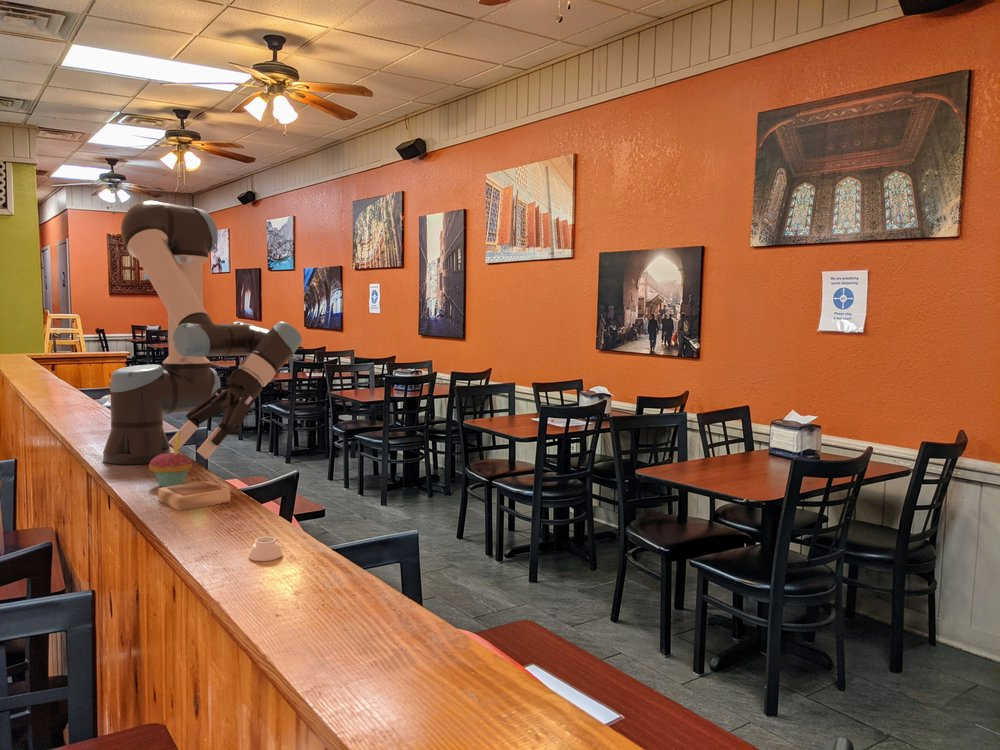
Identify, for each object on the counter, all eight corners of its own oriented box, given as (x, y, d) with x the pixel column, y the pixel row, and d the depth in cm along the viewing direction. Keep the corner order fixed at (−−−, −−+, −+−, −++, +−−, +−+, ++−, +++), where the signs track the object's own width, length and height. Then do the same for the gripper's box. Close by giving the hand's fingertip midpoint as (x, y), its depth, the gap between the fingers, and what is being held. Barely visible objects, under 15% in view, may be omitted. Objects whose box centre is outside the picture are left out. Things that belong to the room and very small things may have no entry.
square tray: (158, 500, 144) (158, 487, 144) (207, 492, 151) (207, 480, 151) (179, 510, 137) (179, 496, 137) (230, 502, 144) (230, 488, 144)
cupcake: (199, 482, 160) (199, 428, 159) (179, 491, 152) (179, 434, 151) (162, 479, 161) (162, 426, 160) (140, 488, 153) (140, 432, 152)
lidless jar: (255, 552, 116) (243, 562, 111) (255, 534, 116) (243, 544, 111) (286, 553, 116) (276, 564, 111) (286, 535, 116) (276, 545, 111)
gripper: (290, 393, 160) (226, 470, 151) (234, 384, 177) (174, 452, 167) (268, 370, 156) (201, 448, 146) (213, 363, 173) (150, 432, 163)
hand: (186, 450), depth 157 cm, fingers open, 13 cm apart
